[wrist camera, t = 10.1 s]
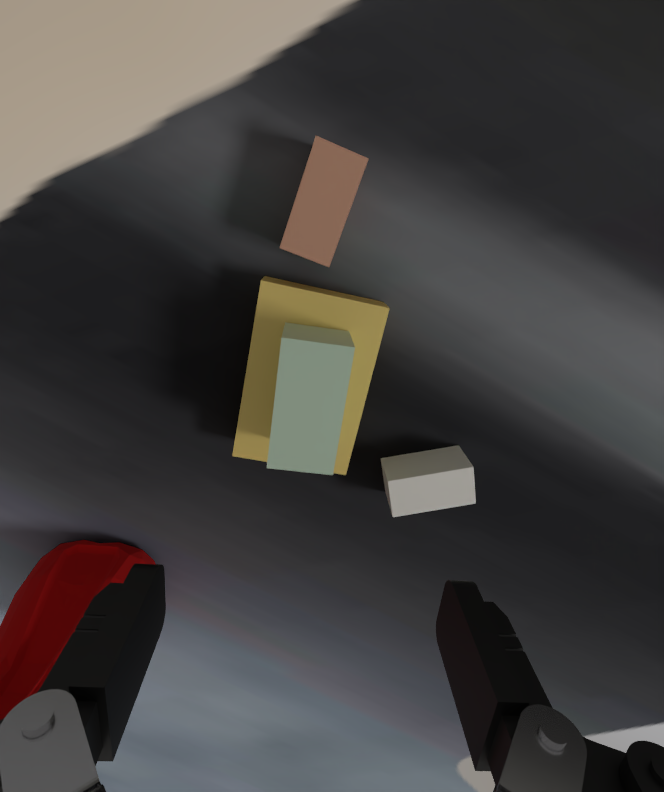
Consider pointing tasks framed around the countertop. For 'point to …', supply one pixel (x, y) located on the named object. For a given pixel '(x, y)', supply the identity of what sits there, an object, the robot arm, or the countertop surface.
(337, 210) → the rust brick
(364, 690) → the countertop surface
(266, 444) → the mustard base brick
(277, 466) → the sage brick
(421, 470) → the cream brick
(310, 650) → the countertop surface
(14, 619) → the water bottle
